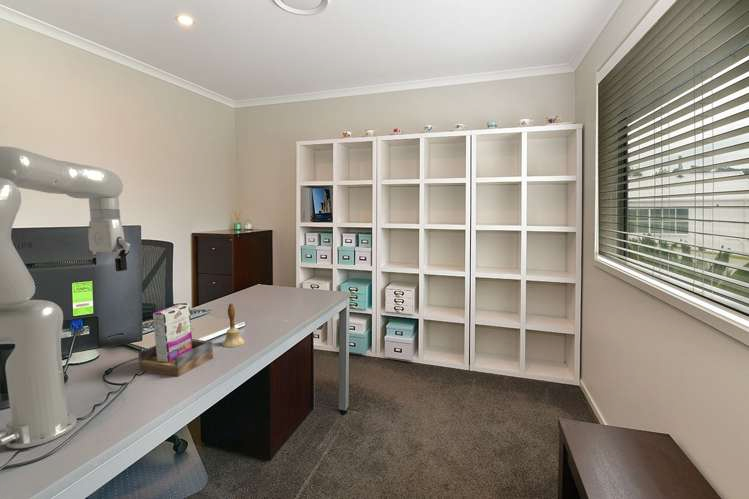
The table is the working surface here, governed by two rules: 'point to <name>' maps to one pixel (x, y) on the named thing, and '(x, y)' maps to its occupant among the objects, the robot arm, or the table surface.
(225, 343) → the hand bell
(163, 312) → the candy bar box
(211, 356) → the wooden tray
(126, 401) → the table surface
